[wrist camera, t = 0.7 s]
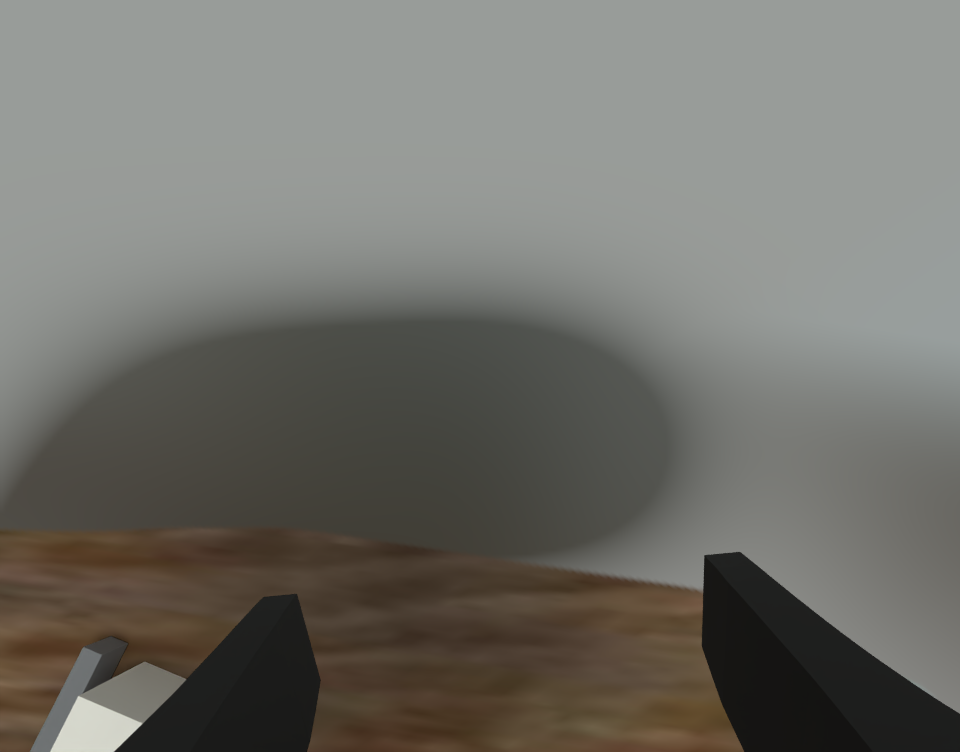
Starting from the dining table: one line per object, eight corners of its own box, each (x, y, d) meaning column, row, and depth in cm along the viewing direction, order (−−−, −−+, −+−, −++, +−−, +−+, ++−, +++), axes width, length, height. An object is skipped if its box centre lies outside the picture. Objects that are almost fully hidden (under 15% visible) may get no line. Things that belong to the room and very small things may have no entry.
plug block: (213, 785, 31) (160, 849, 25) (107, 739, 31) (28, 793, 25) (249, 705, 32) (205, 750, 26) (145, 661, 32) (78, 696, 26)
